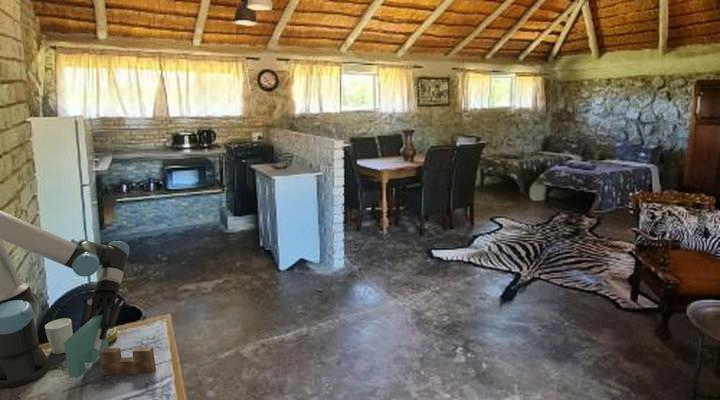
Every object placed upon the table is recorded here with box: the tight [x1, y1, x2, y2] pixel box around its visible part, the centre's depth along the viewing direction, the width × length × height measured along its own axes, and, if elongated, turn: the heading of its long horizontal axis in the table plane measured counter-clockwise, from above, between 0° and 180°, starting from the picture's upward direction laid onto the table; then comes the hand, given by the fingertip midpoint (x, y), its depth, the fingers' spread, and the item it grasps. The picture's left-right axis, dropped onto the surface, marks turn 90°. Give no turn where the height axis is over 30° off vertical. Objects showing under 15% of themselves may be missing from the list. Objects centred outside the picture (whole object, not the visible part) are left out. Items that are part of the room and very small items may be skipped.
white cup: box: [44, 317, 74, 355], centre depth 164 cm, size 8×8×10 cm
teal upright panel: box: [64, 314, 109, 379], centre depth 151 cm, size 18×3×12 cm, turn 2°
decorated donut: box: [107, 326, 118, 344], centre depth 170 cm, size 10×11×4 cm
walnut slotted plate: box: [99, 346, 157, 376], centre depth 149 cm, size 16×2×8 cm, turn 92°
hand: (90, 349), depth 153 cm, fingers closed on teal upright panel, 3 cm apart
